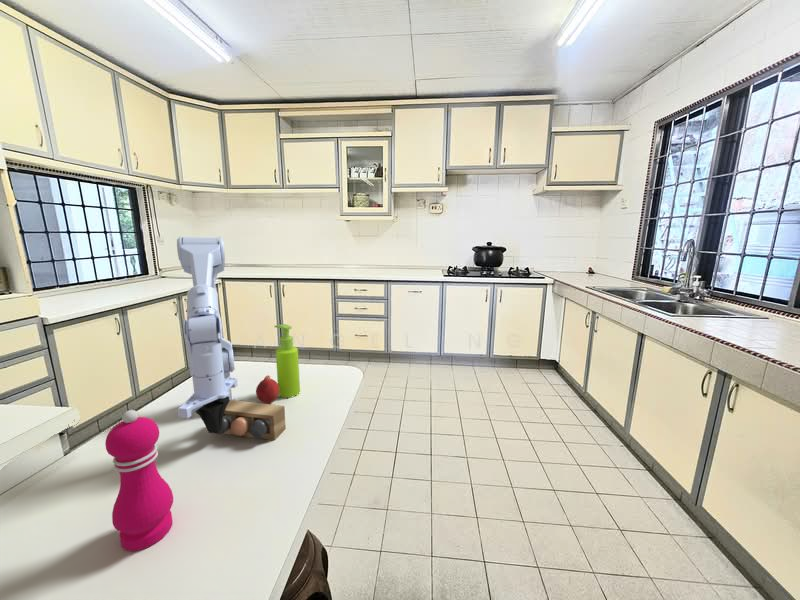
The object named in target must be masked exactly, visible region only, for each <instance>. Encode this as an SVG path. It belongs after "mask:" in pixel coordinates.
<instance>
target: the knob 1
mask: <svg viewBox="0 0 800 600" xmlns="http://www.w3.org/2000/svg"><path fill="white" fill-rule="evenodd" d="M232 422H233V415H229V414H226V415H225V416H223V419H222V425H221V430H220V431H219V432H218V433H216V435H223V434H225V432H226V431H227V430H228V429H229V428H230V426H231V423H232Z"/></svg>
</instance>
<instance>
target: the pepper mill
mask: <svg viewBox="0 0 800 600" xmlns="http://www.w3.org/2000/svg"><path fill="white" fill-rule="evenodd" d="M121 420H122V421H121V422H118V423H117V424H116V425H115V426H113V427H112V428H111V429H110V431H109V432H108V433H107V436H106V439H105V445H104V446H105V450H106V452H107V454H108V455H110V456H111V457H113V459H112V463H113V465H114V466H113V468H114V470H115V471H117V472H119V477H120V478H119V479H120V482H119V483H120V485H119V491H118V493H117V497H116V500H115V502H114V504H113V509H112V513H111V518H112V519H111V520H112V525H113V527H114V529H116V531H118V532H119V540H120V546H121V547H122V549H124V550H125V551H129V552H136V551H141V550H144V549H147V548H149V547H152V546H154V545H155V544H156V543H158V542H159V541H160V540H162V539H164V538H165V536H166V535H167V534H168V533H169V532H170V530H171V528H172V527H173V524H174V523H173V516H172V515H173V514H172V511H171V508H172V507H173V503H174V495H173V490H172V489H171V487H170V485H169V484H168V482H166V480H165V479H164V478H163V477H162V476H161V474H160V472H159V471H158V468H157V465H156V459H157V458H158V455H159V451H158V445H156V443H157V442H158V440H159V438H160V428H159V426H158V424H157V423H156V421H154V420H153V419H151V418H150V417H146V416H145V417H144V416H140V417H139V414H138V412H137V410H135V409H134V410H133V409H130V410H127V411H125V412H124V413H122V416H121Z"/></svg>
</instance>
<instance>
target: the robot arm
mask: <svg viewBox="0 0 800 600" xmlns="http://www.w3.org/2000/svg"><path fill="white" fill-rule="evenodd" d="M176 248H177V249H176V250H177V256H178V260H179V263H180V265H181V268H182V269H183V272H184V273H187V274H189V275H191V279H192V285H193V287H191V288H190V289H189V290H188V291H187V293H186V314H187V315H186V319H184V320H183V337H184V341H185V343H186V348H187V354H188V355H189V356H188V367H189V368H188V369H189V376H191V378H192V384H193V385H192V386H193V393H192V395H191V396H190V397H189V398H188V399H187V400H186V401H185V402H184V403H183V404H182V405H180V406H179V407H178V408H177V414H178V418H182V419H189V418H190V417H192V414H193V413H197V414H198V416H199V417H200V419H201V420H202V422H203V424H204V425H205V428H206V431H207V432H208V433H209V434H216V433H218V432H219V431H220V430H221V425H222V419H223V415H224V412H225V409H226V407H227V405H228V403H229V401H230V400H233V396H232V388H233V389H235V388H237V387H238V386H239V384H238V378H237V377H231V373H233V372H234V371H235V370H236V369H235V368H236V367H235V359H234V358H235V357H234V350H233V344H232V342H231V341H229V340H228V339H225V338H224V336H223V334H224V333H223V323H222V322H223V321H222V318H221V315H220V310H219V309H220V308H219V294H218V291H217V287H216V280H217V277H218V274H220V273H222V272H224V271H225V267H226V255H225V243H224V239H223V238H222V237H221V236H218V237H190V236H189V237H183V236H179V237H178V238H177V239H176ZM216 435H217V434H216Z"/></svg>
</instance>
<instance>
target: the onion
mask: <svg viewBox="0 0 800 600" xmlns="http://www.w3.org/2000/svg"><path fill="white" fill-rule="evenodd" d="M279 391H280V388H279V385H278V381H276V380H274V379H273V378H271V376H270V375H268V374H267V375H265V376H264V379H262V380H260V382H259V383H258V384H257V386H256V389H255V393H256V398H257V399H258V400H259V401H260V403H262V404H272V403H273V402H274V401H275V400H276V399H277V398H278V397H279Z"/></svg>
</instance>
